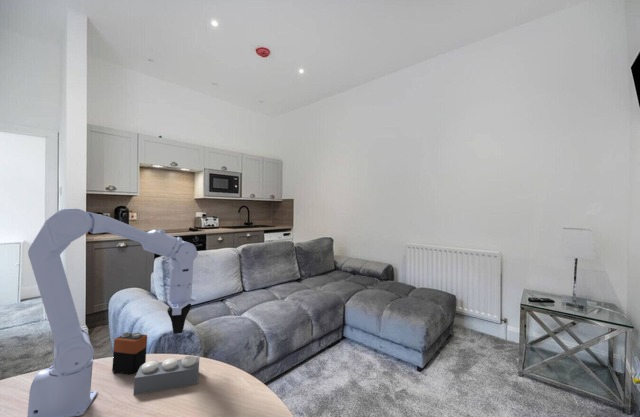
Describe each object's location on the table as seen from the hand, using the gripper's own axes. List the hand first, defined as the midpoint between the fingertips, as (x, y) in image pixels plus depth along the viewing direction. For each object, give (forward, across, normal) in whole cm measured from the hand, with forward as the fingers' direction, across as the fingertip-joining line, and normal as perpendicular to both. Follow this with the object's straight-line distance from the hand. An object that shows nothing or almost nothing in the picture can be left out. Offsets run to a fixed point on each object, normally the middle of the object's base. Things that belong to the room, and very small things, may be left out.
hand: (178, 332), depth 75 cm
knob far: (+10, -5, -3) cm, 12 cm away
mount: (+10, -6, +1) cm, 12 cm away
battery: (+11, +4, +12) cm, 17 cm away
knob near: (+10, -6, +5) cm, 13 cm away
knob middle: (+10, -5, +1) cm, 12 cm away
